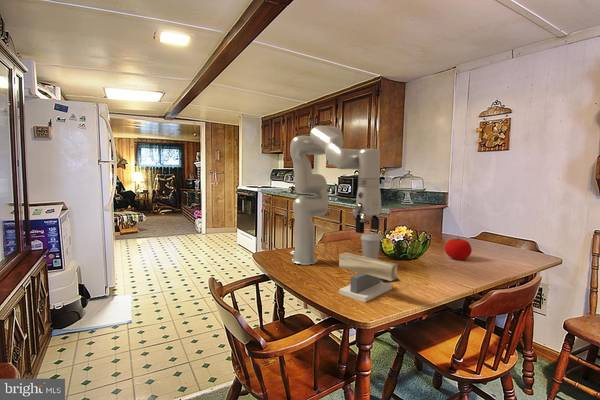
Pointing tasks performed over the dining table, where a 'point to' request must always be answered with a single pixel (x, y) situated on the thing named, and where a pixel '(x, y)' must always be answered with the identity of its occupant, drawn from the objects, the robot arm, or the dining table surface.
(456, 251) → the tomato
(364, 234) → the coffee cup
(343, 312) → the dining table surface
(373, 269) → the beam
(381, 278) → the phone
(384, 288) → the ridge stand
